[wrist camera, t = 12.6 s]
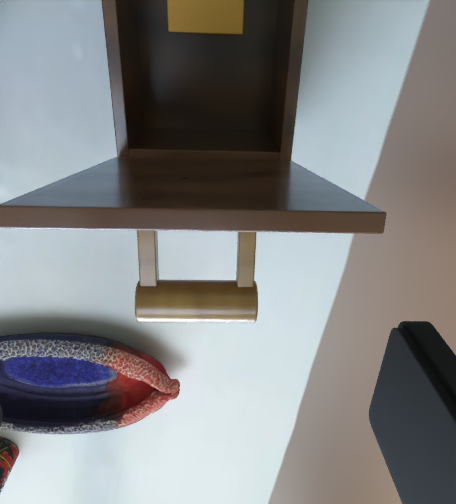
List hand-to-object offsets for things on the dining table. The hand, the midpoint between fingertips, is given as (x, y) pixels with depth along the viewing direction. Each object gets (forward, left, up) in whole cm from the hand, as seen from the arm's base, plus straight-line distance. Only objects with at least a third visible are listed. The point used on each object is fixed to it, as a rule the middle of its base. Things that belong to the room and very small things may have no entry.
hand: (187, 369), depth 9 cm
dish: (+28, -24, -33) cm, 49 cm away
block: (-9, +2, -32) cm, 33 cm away
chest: (-7, +1, -32) cm, 33 cm away
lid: (0, 0, -14) cm, 14 cm away
